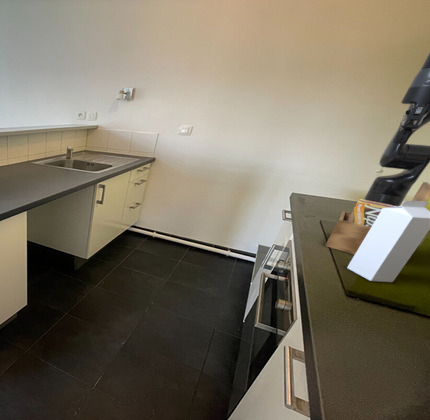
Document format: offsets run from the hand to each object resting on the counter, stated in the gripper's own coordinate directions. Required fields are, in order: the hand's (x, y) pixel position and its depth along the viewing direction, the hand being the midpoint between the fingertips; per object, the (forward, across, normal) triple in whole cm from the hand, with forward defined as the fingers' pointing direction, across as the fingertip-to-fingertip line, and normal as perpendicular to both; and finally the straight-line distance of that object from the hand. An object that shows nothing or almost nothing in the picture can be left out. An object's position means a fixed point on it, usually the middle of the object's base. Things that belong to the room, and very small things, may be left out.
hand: (398, 143), depth 77 cm
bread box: (+34, -8, -2) cm, 35 cm away
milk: (+34, -29, -6) cm, 45 cm away
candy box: (+33, -8, -3) cm, 34 cm away
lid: (+17, -8, -8) cm, 21 cm away
